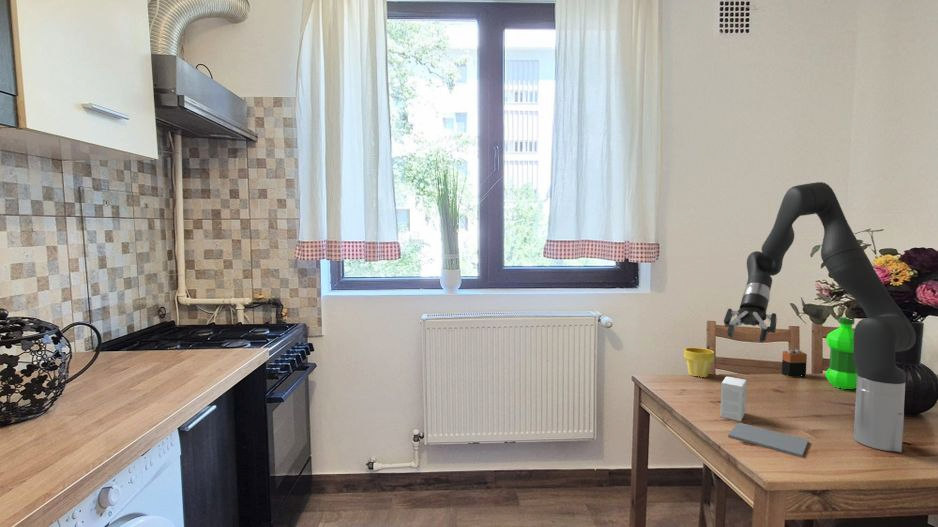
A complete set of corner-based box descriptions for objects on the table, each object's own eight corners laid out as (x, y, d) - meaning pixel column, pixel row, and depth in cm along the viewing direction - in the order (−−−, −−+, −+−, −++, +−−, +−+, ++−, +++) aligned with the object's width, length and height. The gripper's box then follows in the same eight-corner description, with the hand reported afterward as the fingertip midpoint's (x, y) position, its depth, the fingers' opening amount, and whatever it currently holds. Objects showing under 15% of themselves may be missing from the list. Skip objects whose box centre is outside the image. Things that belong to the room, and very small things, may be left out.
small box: (724, 408, 139) (725, 375, 138) (745, 413, 136) (746, 379, 135) (719, 416, 133) (720, 382, 132) (741, 421, 129) (742, 386, 129)
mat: (808, 442, 116) (808, 439, 116) (802, 457, 109) (802, 454, 108) (738, 424, 127) (738, 422, 127) (728, 436, 120) (728, 434, 120)
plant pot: (702, 370, 179) (702, 346, 178) (719, 378, 169) (720, 353, 168) (677, 371, 178) (678, 347, 177) (694, 379, 168) (694, 354, 167)
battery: (806, 377, 171) (807, 351, 170) (789, 377, 170) (790, 351, 170) (797, 373, 175) (798, 348, 175) (781, 374, 175) (782, 348, 174)
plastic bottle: (826, 381, 166) (829, 314, 165) (863, 387, 159) (867, 318, 157) (821, 387, 159) (825, 318, 158) (861, 394, 152) (865, 322, 150)
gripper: (729, 290, 153) (718, 328, 145) (779, 294, 143) (770, 335, 135) (733, 303, 157) (722, 341, 149) (781, 308, 147) (773, 349, 140)
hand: (745, 338), depth 142 cm, fingers open, 8 cm apart
